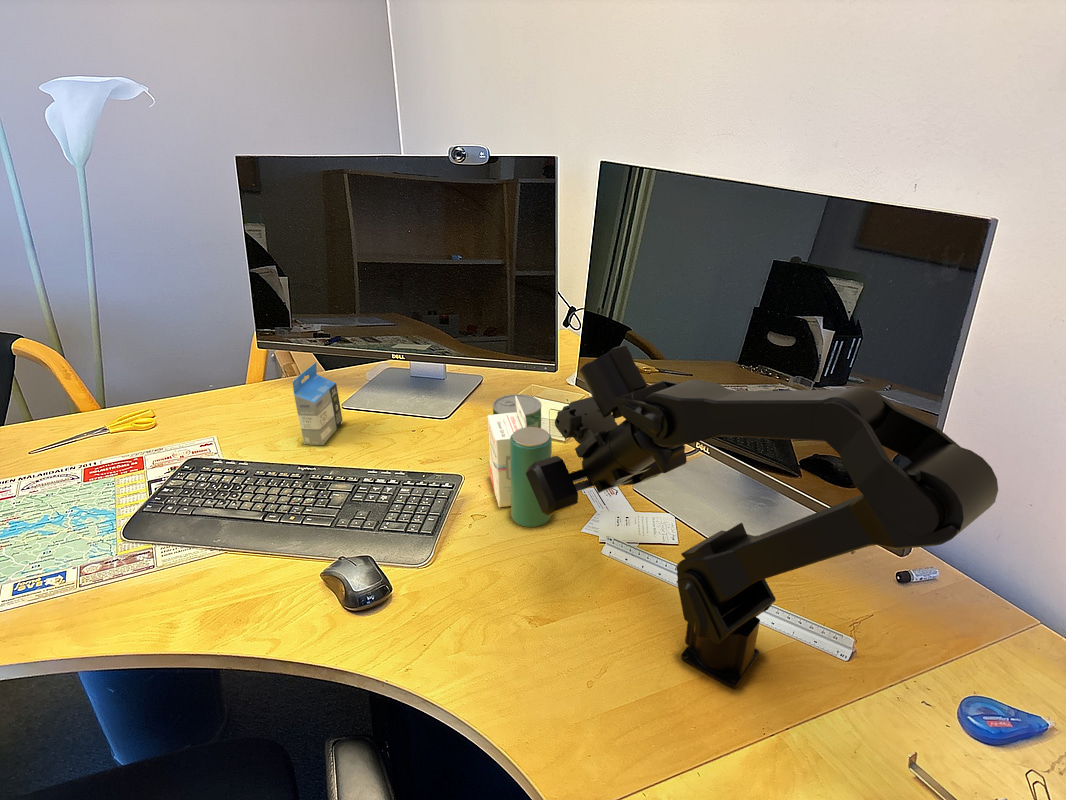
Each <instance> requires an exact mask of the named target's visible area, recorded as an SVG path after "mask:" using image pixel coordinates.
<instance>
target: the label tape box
mask: <svg viewBox="0 0 1066 800" xmlns="http://www.w3.org/2000/svg"><path fill="white" fill-rule="evenodd" d="M305 377H307V378H306V379H305ZM304 379H305V380H304ZM302 381H303V382H302ZM291 383H292V389H293V396H294V401H295V406H296V411H297V416H298V422H299V426H300V432H301V436H302V440H303V441H302V442H303V444H304V445H311V446H324V445H325V444H326V443H327V442H328V440H329V439H330V438H331V437H332V436H333V435H334V433H335V432H336V431H337V430H338V429H339V428H340V427H341V425H342V424H343V423H344V422H343V420H344V419H343V415H342V408H341V404H340V403H341V401H340V398H339V391H338V385H337V383H336V382H334V381H332V380H330V379H328V378H326V377H324V376H321V375H319V374H317V361H316V362H314V363H313V364H311V365H310V366H309V367H308V368H306V369H305V370H304V371H302V372H301V373H300V374H299V375H298V376H296V378H294V379H293V380H292V382H291Z"/></svg>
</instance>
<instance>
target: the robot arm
mask: <svg viewBox="0 0 1066 800" xmlns="http://www.w3.org/2000/svg"><path fill="white" fill-rule="evenodd" d="M578 373H579V375H580V377H581V378H582V381H583V382H584V384H585V386H586V388H587V390H588V392H589V394H590V395H591V396H590V397H589V396H588V397H586V398H582V399H578V400H574V401H570V402H569V403H568V405H565V406H563V407H562V409H561V410H558V411H557V412H556V413H557V415H556V417H555V420H554V427H555V428H556V429H557V430H558V432H559V434H560V435H561V436H562V437H563V438H564V439H569V438H573V439H574V441H575V442H576V443H577V444H578V445H577V446H576V447H575V448H574V451H575V453H576V456H577V457H578V458H579V459H580V458H582V460H581V468H582V469H581V468H580V469H577V470H575V471H572V472H569V469H568V467H567V466H566V462H565V461H564V459H563V458H562V457H560V456H558V455H554V456H551V457H550V458H547V459H544V460H541V461H537V462H534V463H533V464H532V465H530V466H529V467H528V468H527V471H526V476H527V478H528V480H529V483H530V485H531V488H532V490H533V492H534V495H535V497H536V499H537V502H538V504H539V506H540V509H541V511H542V513H544V514H546V515H548V516H549V515H551V516H552V515H554V514H557V513H560V512H563V511H566V510H567V509H570V508H572V507H574V506H575V505H577V504H578V503H579V492H581V491H584V490H586V489H590V488H593V487H595V489H596V491H597V493H598V494H600V493H603V492H606V491H609V490H611V489H614V488H617V487H619V486H633V485H637V484H640V483H642V482H645V481H648V480H651V479H654V478H656V477H658V476H660V475H661V474H667V473H669V472H671V471H674V470H675V469H677V468H679V467H681V466H684V465H686V464H687V454H686V452H685V450H686V445H690V444H694V443H698V442H702V441H706V440H709V439H714V438H720V437H726V438H727V437H731V438H747V439H748V438H749V439H767V440H768V439H770V440H771V439H772V440H786V441H787V440H790V441H807V442H808V441H810V442H825V443H827V444H828V445H829V446H830V447H831V448H832V449H833V450H834V451H835V452H836V453H837V454H838V455H839V457H840V459H841V461H842V463H843V465H844V467H845V469H846V471H847V473H848V475H849V476H850V479H851V480H852V483H853V484H854V486H855V488H856V489H857V490H858V491H859V492H860V493H861V494H860V495H858V496H854V497H852V498H850V499H847V500H845V501H842V502H840V503H837V504H835V505H832V506H830V507H827V508H825V509H822V510H819V511H816V512H815V513H812V514H810V515H809V514H808V515H807V516H804V517H802V518H799V519H797V520H794V521H792V522H790V523H787V524H784V525H782V526H779V527H777V528H776V527H775V528H774V529H771V530H769V531H767V532H763V533H761V534H759V535H752V534H748V533H747V530H746V528H745V526H744V524H743V522H739V523H738V524H736V525H734V526H733V527H731V528H730V529H728V530H718V532H716V533H714V534H712V535H711V536H709V537H708V538H705V539H704V540H702V541H700V542H698V543H697V544H695V545H693V546H691V547H690V548H688V549H686V550H684V551H683V552H681V553H680V554H681V557H682V558H683V559H682V560H680V561H679V562H678V563H677V564H676V567H675V569H676V576H677V581H676V582H677V583H676V584H677V589H678V594H679V600H680V604H681V610H682V615H683V619H684V620H685V622H687V623H686V631H685V639H684V643H685V645H686V648H685V649H684V650H683V652H682V653H681V655H680V660H681V662H684V663H685V664H687V665H689V666H690V667H693V668H694V669H696V670H698V671H700V672H702V673H703V674H705V675H707V677H710V678H712V679H714V680H716V681H717V682H719V683H721V684H723V686H724V685H725V686H726V687H728V688H730V689H736V688H737V687H738V686H739V685H740V683H741V682H742V680H743V679H744V678H745V676H746V674H747V673H748V672H749V670H750V669H751V667H752V666H753V665H754V663H755V662H756V660H757V659H758V658H759V655H760V651H759V650H758V649H757V648H756V644H757V638H758V634H759V627H760V623H761V618H759V617H758V616H760V615H761V614H762V613H763V612H766V611H768V610H769V609H770V608H771V607H772V606H773V604H775V602H776V597H775V595H774V593H773V591H772V589H771V587H770V586H769V584H768V582H767V580H766V579H770V578H773V577H776V576H778V575H781V574H785V573H788V572H792V571H795V570H798V569H800V568H804V567H807V566H810V565H814V564H817V563H820V562H823V561H826V560H829V559H832V558H836V557H840V556H841V555H845V554H848V553H852V552H854V551H858V550H861V549H864V548H867V547H871V546H879V547H884V548H888V549H889V548H890V549H894V550H906V549H915V548H925V547H926V548H927V547H936V546H940V545H943V544H946V543H947V542H949V541H951V540H953V539H954V538H955V537H956V536H958V535H959V534H960V533H961V532H962V531H964V530H965V529H966V528H967V527H969V526H970V525H971V524H972V523H973V522H975V520H977V519H979V517H980V516H982V515H983V514H984V513H985V512H986V511H988V510H989V509H990V508H991V507H992V506H993V505H994V504H995V503H996V500H997V497H998V493H999V484H998V478H997V475H996V474H995V472H994V470H993V467H992V466H991V465H990V464H989V463H988V462H987V461H986V459H984V458H983V457H982V456H981V455H979V454H977V453H976V452H974V451H973V450H970V449H968V448H965V447H962V446H961V445H959V444H958V443H957V442H956V441H955V440H953V439H952V438H951V437H950V436H949V435H947V434H946V433H945V432H944V431H943V430H941V428H938V427H937V426H935V425H934V424H931V422H928V421H925V420H923V419H922V418H920V417H917V416H915V415H912V414H911V413H908V412H907V411H905V410H902V409H900V408H898V407H897V406H896V405H894V404H893V403H892V402H890V401H889V400H888V399H887V398H886V397H884V396H883V395H882V394H881V392H878V391H876V390H875V389H873V388H872V387H868V386H860V385H857V386H852V387H849V388H842V389H841V388H840V389H836V388H835V389H790V390H789V389H787V390H734V389H728V388H727V387H725V386H723V385H721V384H720V383H717V382H712V381H706V380H701V379H693V378H692V379H688V380H686V381H682V382H679V381H678V382H677V381H672V380H667V379H663V380H660V381H658V382H654V383H652V384H649V385H648V384H647V381H646V380H645V379H644V377H643V375H642V373H641V372H640V370H639V368H638V366H637V364H636V363H635V360H634V358H633V356H632V353H631V352H630V350H629V348H628V346H627V344H622V345H619V346H615V347H612V348H611V349H610V350H609V351H608V352H606V353H604V354H602V355H600V356H598V357H597V358H595V359H593V360H591V361H589V362H587V363H584V364H583V366H581V368H579V371H578ZM621 417H622V418H624V420H623V421H622V422H620V423H619V424H618V422H617V421H616V419H619V418H621ZM884 447H885V448H886V449H889V450H891V451H892V452H895V453H897V454H898V455H901V456H903V457H905V458H906V459H908V460H909V461H910V463H908V464H907V465H906V466H904V467H902V468H901V467H899V465H898V464H896V463H895V462H894V461H893V460H892V459H891V458H890V457H889V456H888V454H887V452H886V450H885V448H884Z"/></svg>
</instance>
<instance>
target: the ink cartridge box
mask: <svg viewBox="0 0 1066 800" xmlns="http://www.w3.org/2000/svg"><path fill="white" fill-rule="evenodd" d="M515 400H516V408H517V412H514V413H504V414H494V415H493V414H487V427H488V428H487V430H488V449H489V450H488V452H489V475H490V477H489V479H490V482H491V486H492V489H493V492H494V495H495V498H496V502H497V506H498V508H505V507H511V461H510V437H511V435H512V434H513V433H514V432H515V431H516V430H518V429H521V428H525V427H527V422H526V417H525V414H524V412H523V410H522V407H521V405H520V403H519V401H518V398H517V396H515ZM520 412H521V413H520ZM521 415H522V416H521Z"/></svg>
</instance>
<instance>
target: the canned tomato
mask: <svg viewBox="0 0 1066 800" xmlns="http://www.w3.org/2000/svg"><path fill="white" fill-rule="evenodd" d="M515 396H517V398H518V401H519V403H520V405H521V407H522V410H523V412H524V414H525V417H526V422H527V427H537V428H541V429H542V402H541V401H540V400H539V399H538V398H537V397H534V396H532V395H528V394H521V393H516V394H515V393H513V394H507V395H503V396H500V397H498V398H496V399H495V400H494V401H493V403H492V415H494V414H504V413H514V412H517V408H516V400H515ZM520 413H521V412H520ZM521 416H522V415H521Z"/></svg>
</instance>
